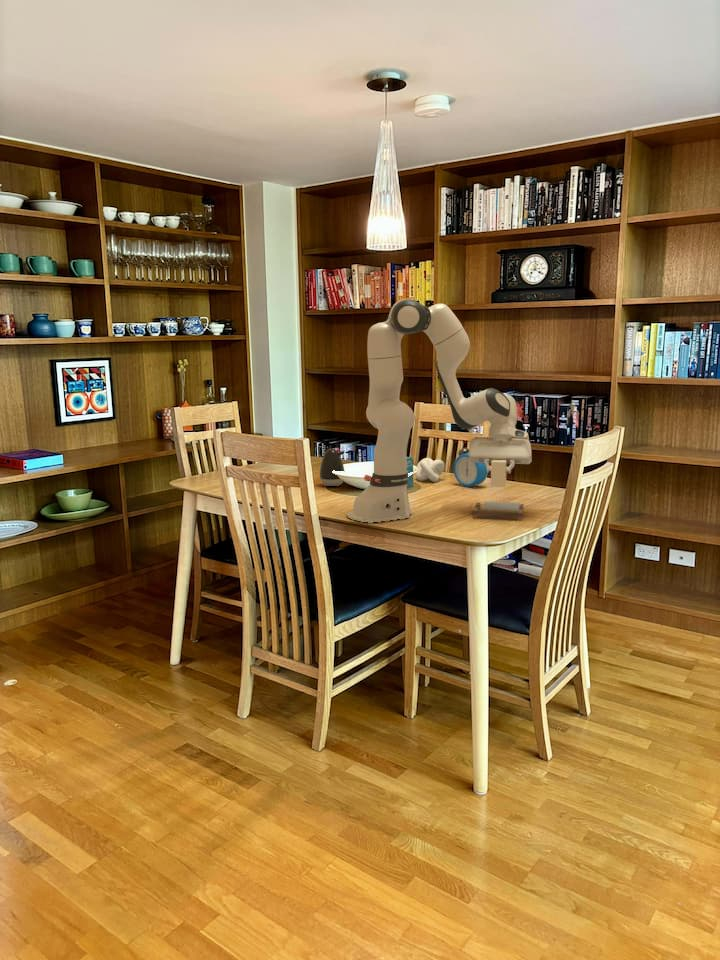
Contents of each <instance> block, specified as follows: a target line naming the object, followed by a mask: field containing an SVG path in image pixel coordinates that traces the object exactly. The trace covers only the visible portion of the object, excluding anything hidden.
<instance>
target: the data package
mask: <svg viewBox="0 0 720 960" xmlns="http://www.w3.org/2000/svg"><path fill="white" fill-rule="evenodd" d="M410 472H413V474H412V475H411V476H409V477H408V484H407V489H410V488H412V487H413V485H414V458H413V457H411V456H407V473H410ZM409 487H410V488H409Z"/></svg>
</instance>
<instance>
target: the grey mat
mask: <svg viewBox="0 0 720 960" xmlns="http://www.w3.org/2000/svg"><path fill="white" fill-rule="evenodd" d="M520 504H521V502H509V501H490V500H489V501H487V500H485V502H484V504H483V506H482V508H481V510H492V511H515V512H518V510H519V506H520Z"/></svg>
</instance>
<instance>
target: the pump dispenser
mask: <svg viewBox="0 0 720 960" xmlns="http://www.w3.org/2000/svg"><path fill="white" fill-rule="evenodd" d="M343 454H345V451H344V450H340V451H338V450H337V449H335V448H328V449H326V451H325V452H324V454H323V456H322V460H321V462H320V468H319V478H320V481H321V483H322V484H323V486H325V487H327V486H337V487H339V486H341V485H342V484H343V482H344V480H341V479H340V478H339V477H338V476H337V475H335V474H333V473H332V471H333V470H335V471H344V472H345V465H344V463H343V460H342V458H341V456H342V455H343Z"/></svg>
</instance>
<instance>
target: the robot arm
mask: <svg viewBox="0 0 720 960" xmlns="http://www.w3.org/2000/svg"><path fill="white" fill-rule="evenodd" d="M419 332H424V333H425V335H427V336H428V338H429V340H430V342H431V344H432V345H433V347H434V349H435V352H436V356H437V360H436V361H435V362H436V363H435V369H436V372H437V375H438V378H439V381H440V384H441V386H442V388H443V391H444V394H445V396H446V399H447V402H448V404H449V406H450V409H451V410H450V411H451V414H452V415H451V416H452V418H453V421H454V423H455V424H456V425H457V426H458V427H460V428H462V429H464V430H472V429H473V428H475V427H478V426H480V425H481V424H483V423H486V422H489V423H490V425H489V427H488V436H487V437H486V436H484V437H483V436H481V437H479V436H474V437H473V438H471V439H470V440H469V445H468V446H469V460H470V461H471V462H480V463H485V466H486V468H487V473H488V474H491V465H490V464H491V461H492V460H507V464H509V465H508V466H506V475H508V474H511V472H512V470H513V469H514V467H515V466H516V464H517V465H519V464H520V465H530V464H531V463H532V461H533V460H532V458H533V457H532V445H531V442H530V437H529V433H528V432H527V431H525V430H521V429H517V428H516V425H517V421H518V407H517V406H518V405H517V402H516V400H515V398H514V397H513V396H512V395H510V394H507V393H502V392H501V391H499V390H498V389H496V388H493V387H489V388H486V389H485V390H484V389H483V391H480V392H478V393H476V394H473V395H472V396H470V397H467V398H466V397H464V394H463V392H462V390H461V387H460V384H459V382H458V379H457V376H456V375H457V374H456V373H457V369H458V367H459V366H460V365H461V363H462V362H463V361H464V360H465V358H466V357H467V355H468V354H469V351H470V348H471V342H470V341H471V340H470V339H469V338H470V337H469V336H468V333H467V332H466V330H465V328H464V326H463V324H462V323H461V322H460V320H459V319H458V317H457V316H456V314H454V312H453V311H452V310H451V308H450V307H449V306H448V305H447V304H445V303H436V304H433V305H431V306H429V307H427V306H425V305H424V304H422V303H421V302H418V301H416V299H412V298H402V299H400V300H397V301H396V302H395V303H394V304H393V305H392V307H391V308H390V311H389V314H388V315H387V317H386V320H385V321H383V322H378V323H375V324H373V325H372V326H370V328H369V329H368V332H367V333H368V334H367V345H366V346H367V349H366V351H367V364H368V365H367V366H368V376H369V390H368V391H369V392H368V404H367V408H366V411H365V415H366V419H367V420H368V422H369V423H370V424H371V426H372V427H374V428H375V429H377V431H378V433H377V439H376V444H375V446H374V448H373V473H372V475H368V474H365V475H364V477H363V480H364V481H365V482H369V485H368V486H367V487H366V488H364V490H363V491H362V492H361V493H359V495H358V496H356V497H355V499H354V502H353V510H352V511H351V512H347V513H346V517H347V516H348V517H350V518H352V519H354V520H357V521H361V522H360V523H362V522H368V523H367V524H374V523H373V522H378V523H382V522H381V521H385V522H391V521H390V520H393V521H398V520H397V519H400V520H406V519H405V518H408V519H410V518H409V517H410V516H409V515H410V514H411V515H412V514H413V513H412V509H411V505H410V501H409V492H408V488H407V484H408V473H407V457H408V456H407V453H408V452H407V451H408V450H407V449H408V445H409V440H410V433H411V429H412V428H413V426H414V424H415V420H416V419H415V417H416V416H415V413H414V411H413V410H412V408H411V407H410V406H409V405H408V404H407V403H405V402H404V401H401V400H400V394H401V387H402V384H403V381H404V371H403V362H402V361H403V360H402V359H403V357H402V345H401V344H402V339H403V338H404V336H405V335H410V334H416V333H419ZM348 517H347V518H348ZM354 520H353V521H354ZM357 521H356V522H357Z"/></svg>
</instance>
